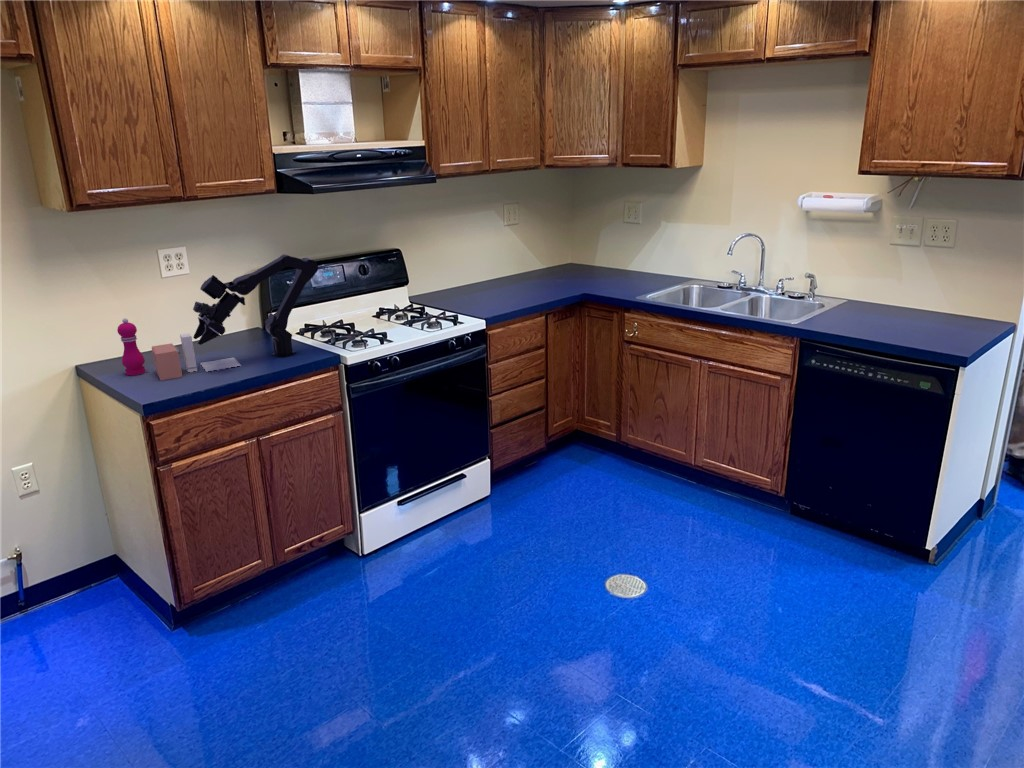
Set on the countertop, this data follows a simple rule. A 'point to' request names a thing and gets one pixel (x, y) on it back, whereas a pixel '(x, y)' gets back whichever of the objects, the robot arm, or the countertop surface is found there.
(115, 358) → the countertop surface
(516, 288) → the countertop surface
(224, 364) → the mat
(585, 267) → the countertop surface
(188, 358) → the white rectangular block
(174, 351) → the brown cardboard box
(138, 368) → the pepper mill
